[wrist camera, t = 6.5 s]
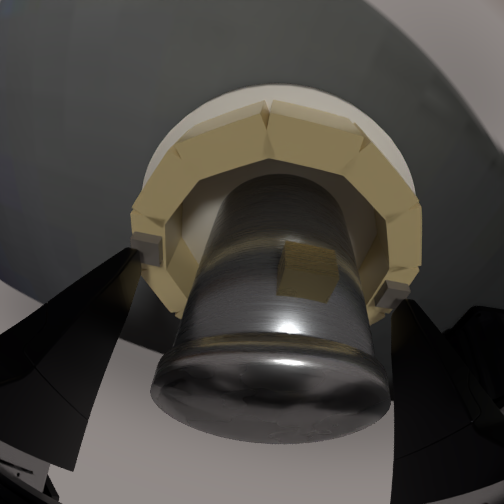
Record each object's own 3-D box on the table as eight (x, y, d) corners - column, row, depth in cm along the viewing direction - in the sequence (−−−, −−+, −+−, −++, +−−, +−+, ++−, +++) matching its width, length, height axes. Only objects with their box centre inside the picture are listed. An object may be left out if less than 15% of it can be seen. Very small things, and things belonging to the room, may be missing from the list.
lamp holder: (444, 135, 9) (494, 176, 6) (350, 317, 16) (357, 372, 13) (156, 66, 8) (102, 80, 6) (156, 281, 16) (134, 334, 13)
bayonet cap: (321, 299, 13) (327, 449, 8) (205, 278, 13) (164, 428, 8) (375, 177, 9) (456, 361, 4) (219, 142, 9) (124, 316, 4)
